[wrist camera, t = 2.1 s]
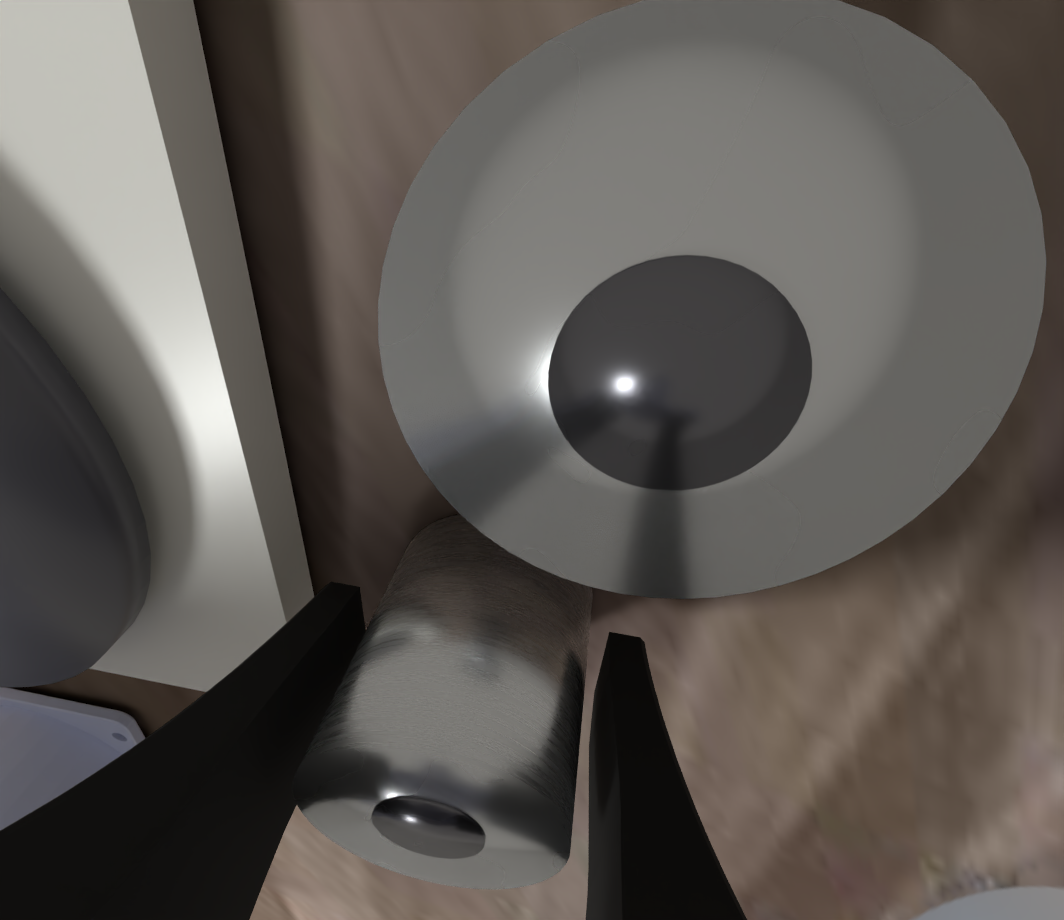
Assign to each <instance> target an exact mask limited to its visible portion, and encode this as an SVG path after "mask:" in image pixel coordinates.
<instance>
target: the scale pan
mask: <svg viewBox="0 0 1064 920" xmlns="http://www.w3.org/2000/svg"><path fill="white" fill-rule="evenodd" d="M150 574H151V551H150V545H149V539H148V533H147V527H146V521H145V518H144V515H143V512H142V509H141V506H140V503H139V500H138V497H137V494H136V491H135V488H134V485H133V482H132V480H131V478H130V476H129V474H128V472H127V470H126V467H125V465H124V463H123V461H122V459H121V457H120V455H119V453H118V451H117V448H116V446H115V444H114V442H113V440H112V438H111V437H110V435H109V433H108V432H107V430H106V429H105V427H104V425H103V424H102V422H101V420H100V419H99V417H98V415H97V414H96V412H95V410H94V409H93V407H92V405H91V404H90V402H89V400H88V399H87V397H86V395H85V394H84V392H83V391H82V390H81V388H80V387H79V385H78V384H77V383H76V381H75V380H74V379H73V377H72V376H71V374H70V373H69V372H68V370H67V369H66V368H65V366H64V365H63V364H62V362H61V361H60V359H59V358H58V357H57V355H56V354H55V353H54V351H53V350H52V348H51V347H50V346H49V344H48V343H47V342H46V340H45V339H44V338H43V337H42V336H41V334H40V333H39V332H38V331H37V330H36V329H35V327H34V326H33V325H32V324H31V323H30V322H29V320H28V319H27V318H26V317H25V316H24V315H23V313H22V312H21V311H20V310H19V309H18V308H17V306H16V305H15V304H14V303H13V302H12V301H11V299H10V298H9V297H8V296H7V295H6V293H5V292H4V291H3V290H2V289H1V288H0V687H32V686H39V685H46V684H52V683H56V682H59V681H62V680H65V679H68V678H71V677H74V676H76V675H78V674H80V673H81V672H83V671H85V670H87V669H88V668H90V667H92V666H93V665H94V664H95V663H96V662H97V661H98V660H99V659H100V658H101V657H102V656H103V655H104V654H105V653H106V652H107V651H108V650H109V649H110V648H111V647H112V646H113V645H114V643H115V642H116V641H117V640H118V639H119V638H120V637H121V636H122V635H123V634H124V633H125V632H126V631H127V629H128V628H129V627H130V626H131V625H132V624H133V623H134V622H135V620H136V618H137V616H138V614H139V613H140V611H141V609H142V607H143V606H144V604H145V600H146V596H147V592H148V588H149V584H150Z"/></svg>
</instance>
